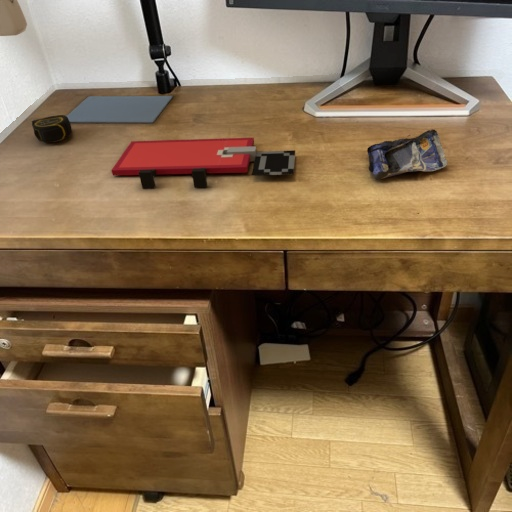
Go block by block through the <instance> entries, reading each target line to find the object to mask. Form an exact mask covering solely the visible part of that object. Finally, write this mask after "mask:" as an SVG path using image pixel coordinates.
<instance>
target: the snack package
mask: <svg viewBox="0 0 512 512" xmlns="http://www.w3.org/2000/svg"><path fill="white" fill-rule="evenodd" d="M410 136H411V134H409V135H407V137H410ZM366 152H367V156H368V162H369V166H368V171H369V173H370V174H371V176H372V178H373V179H374V180H375V181H380V180H382V179H385V178H389V177H392V176H398V175H402V174H404V173H409V172H410V173H411V172H412V173H413V172H434V171H437V170H441V169H443V168H445V167H446V166H447V165H448V160H447V159H446V156H445V154H446V152H445V151H444V149H443V146H442V143H441V141H440V136H439V133H438V131H437V130H436V129H428V130H426V131H424V132H422V133H420V134H419V135H418V136H415V137H412V138H399V139H394V140H385V141H383V142H379V143H374V144H372V145H369V146H368V147H367V150H366Z"/></svg>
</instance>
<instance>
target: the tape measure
mask: <svg viewBox="0 0 512 512" xmlns="http://www.w3.org/2000/svg"><path fill="white" fill-rule="evenodd" d="M31 126H32V129H33V134H34V136H35V137H36V138H37V140H38V141H39V142H42V143H55V142H61V141H63V140H64V139H67V138H69V136H71V135H72V133H73V129H72V123H70V121H69V119H68V117H67V115H64V114H57V115H51V116H46V117H42V118H38V119H34V120H32V121H31Z"/></svg>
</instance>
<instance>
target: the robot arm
mask: <svg viewBox="0 0 512 512" xmlns="http://www.w3.org/2000/svg"><path fill="white" fill-rule="evenodd" d="M27 26H28V23H27V20H26V16H25V14H24V12H23V10H22V7H21V6H20V3H19V1H18V0H0V37H9V36H10V37H11V36H13V37H14V36H19V35H20V34H22V33H25V32H26V30H27Z"/></svg>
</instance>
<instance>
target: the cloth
mask: <svg viewBox="0 0 512 512" xmlns="http://www.w3.org/2000/svg"><path fill="white" fill-rule="evenodd" d="M173 98H174V95H88V96H87V98H85V99H84V100H83V101H81V102H80V103H79V104H78V105H77V106H76V107H75V108H74V109H73V110H72V111H71V112H69V113H68V114H67V115H66V116H67V117H68V119H69V121H70V124H154V123H155V121H156V120H157V119H158V118H159V116H160V115H161V113H162V112H163V111H164V110H165V108H166V107H167V106H168V104H169V103H170V102H171V100H173Z"/></svg>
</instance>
